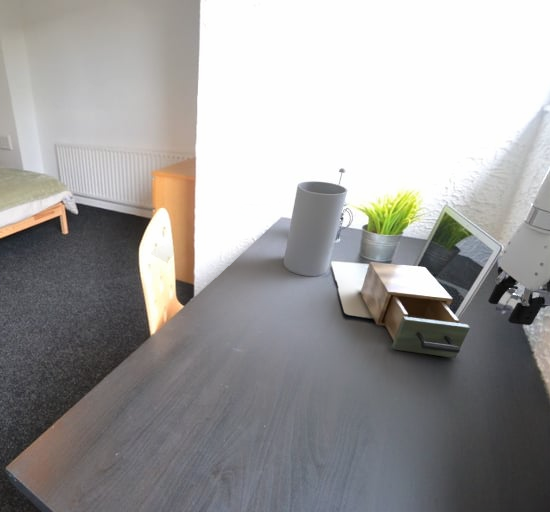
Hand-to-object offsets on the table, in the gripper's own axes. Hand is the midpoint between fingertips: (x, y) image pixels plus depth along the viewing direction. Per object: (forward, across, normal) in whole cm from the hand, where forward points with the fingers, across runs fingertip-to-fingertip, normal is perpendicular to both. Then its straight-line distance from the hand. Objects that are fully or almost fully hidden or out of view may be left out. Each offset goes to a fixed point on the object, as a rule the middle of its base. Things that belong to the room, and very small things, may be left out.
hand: (508, 312), depth 67 cm
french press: (+15, +62, +16) cm, 65 cm away
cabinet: (+14, +19, +9) cm, 25 cm away
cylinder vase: (+14, +38, +28) cm, 49 cm away
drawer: (+13, +7, +9) cm, 17 cm away
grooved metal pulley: (+1, 0, 0) cm, 1 cm away
